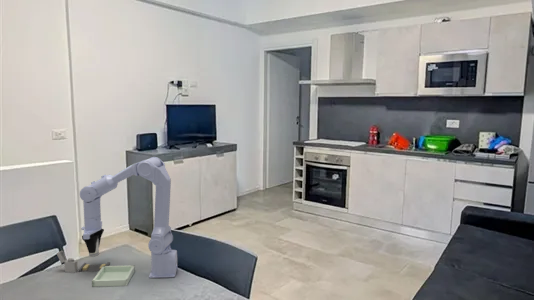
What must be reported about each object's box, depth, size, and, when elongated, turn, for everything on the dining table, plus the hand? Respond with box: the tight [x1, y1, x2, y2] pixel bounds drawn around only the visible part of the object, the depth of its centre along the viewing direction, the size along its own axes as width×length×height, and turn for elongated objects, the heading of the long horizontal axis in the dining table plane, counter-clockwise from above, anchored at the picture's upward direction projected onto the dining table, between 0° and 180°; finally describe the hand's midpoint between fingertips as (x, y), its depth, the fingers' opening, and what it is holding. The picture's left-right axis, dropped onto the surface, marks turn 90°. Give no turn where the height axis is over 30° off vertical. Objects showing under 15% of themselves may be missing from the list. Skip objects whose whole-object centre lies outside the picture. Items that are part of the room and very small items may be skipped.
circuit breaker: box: [56, 250, 79, 274], centre depth 138 cm, size 7×2×8 cm, turn 84°
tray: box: [91, 265, 136, 288], centre depth 134 cm, size 12×12×2 cm
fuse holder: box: [77, 261, 111, 273], centre depth 142 cm, size 10×6×1 cm, turn 96°
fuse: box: [88, 239, 100, 258], centre depth 141 cm, size 4×4×6 cm
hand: (93, 250), depth 141 cm, fingers closed on fuse, 3 cm apart
